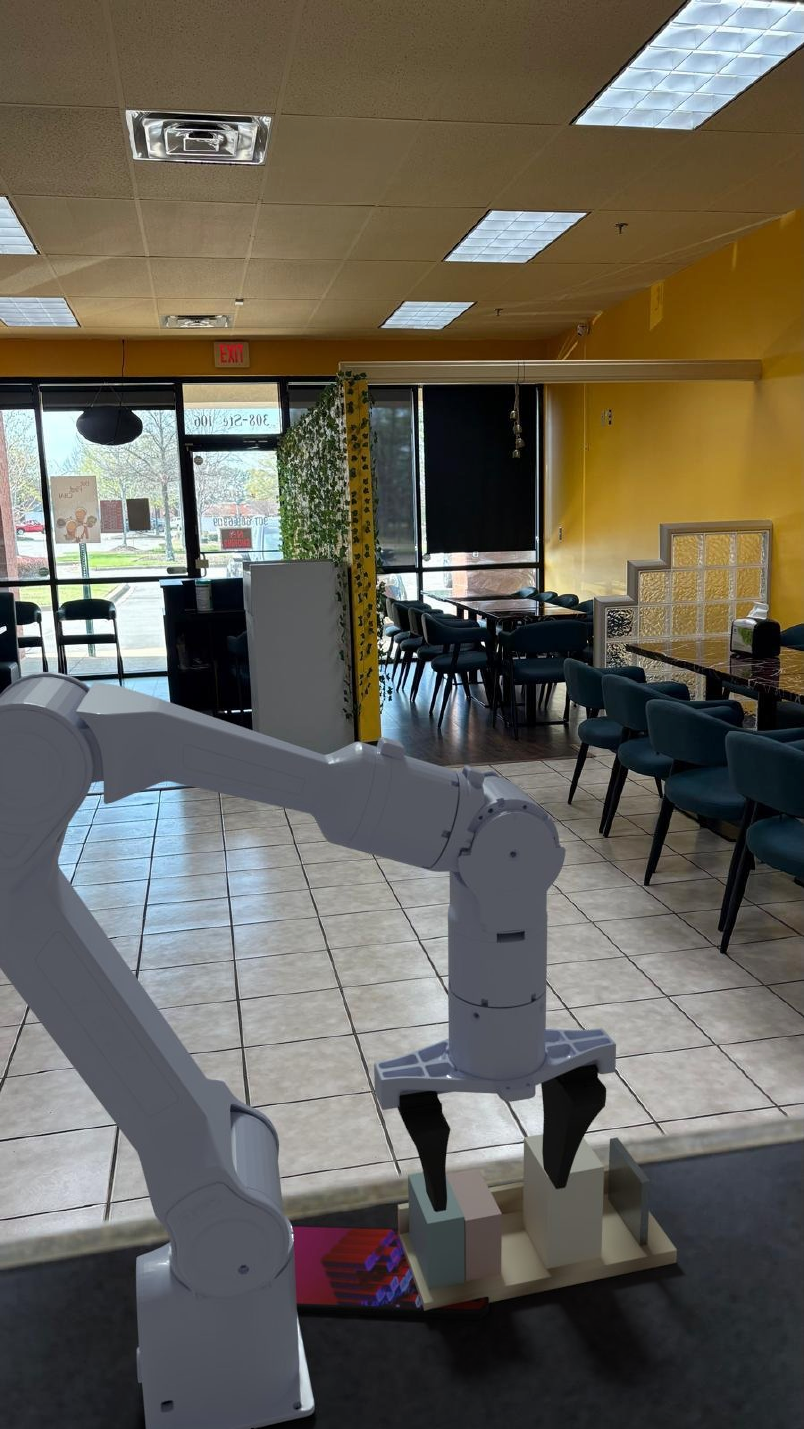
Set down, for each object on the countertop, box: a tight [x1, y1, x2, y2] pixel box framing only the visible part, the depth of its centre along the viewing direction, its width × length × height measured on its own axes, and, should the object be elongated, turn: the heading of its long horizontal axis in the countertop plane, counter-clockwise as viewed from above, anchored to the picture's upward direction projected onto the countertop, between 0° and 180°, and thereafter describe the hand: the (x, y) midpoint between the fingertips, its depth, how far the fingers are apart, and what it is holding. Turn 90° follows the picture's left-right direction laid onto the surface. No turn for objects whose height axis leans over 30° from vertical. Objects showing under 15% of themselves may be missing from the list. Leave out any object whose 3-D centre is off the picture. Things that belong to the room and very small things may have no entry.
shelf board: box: [397, 1165, 678, 1311], centre depth 71 cm, size 18×7×3 cm, turn 104°
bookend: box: [608, 1137, 651, 1246], centre depth 72 cm, size 1×5×5 cm, turn 14°
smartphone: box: [291, 1224, 490, 1321], centre depth 70 cm, size 8×1×15 cm
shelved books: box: [407, 1168, 502, 1290], centre depth 69 cm, size 5×5×5 cm
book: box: [522, 1133, 605, 1269], centre depth 70 cm, size 4×4×7 cm
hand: (496, 1189), depth 62 cm, fingers open, 7 cm apart
